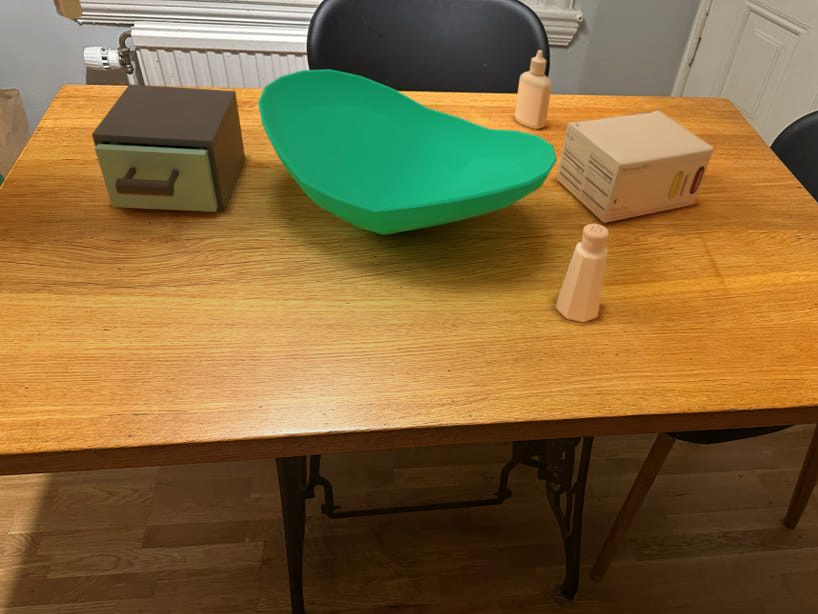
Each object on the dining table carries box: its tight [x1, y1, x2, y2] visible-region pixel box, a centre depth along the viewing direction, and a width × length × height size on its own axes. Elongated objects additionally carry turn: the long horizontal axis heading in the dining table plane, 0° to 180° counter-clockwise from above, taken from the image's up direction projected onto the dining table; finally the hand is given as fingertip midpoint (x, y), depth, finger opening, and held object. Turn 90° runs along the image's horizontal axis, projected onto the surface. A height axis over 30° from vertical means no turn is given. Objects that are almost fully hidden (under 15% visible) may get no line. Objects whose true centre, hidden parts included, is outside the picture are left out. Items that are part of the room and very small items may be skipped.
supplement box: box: [555, 110, 715, 224], centre depth 101 cm, size 17×13×9 cm
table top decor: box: [257, 68, 558, 236], centre depth 90 cm, size 40×28×13 cm
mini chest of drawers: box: [91, 83, 246, 212], centre depth 92 cm, size 15×14×10 cm
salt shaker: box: [555, 223, 610, 323], centre depth 79 cm, size 5×5×11 cm
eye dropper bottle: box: [514, 49, 552, 130], centre depth 115 cm, size 4×6×12 cm
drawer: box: [94, 142, 218, 213], centre depth 89 cm, size 18×13×8 cm
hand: (39, 5), depth 70 cm, fingers open, 8 cm apart
